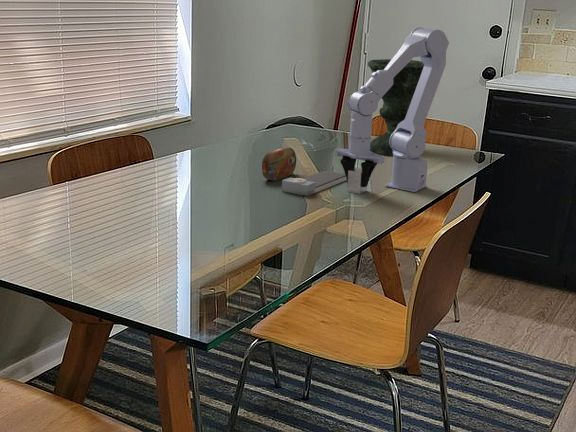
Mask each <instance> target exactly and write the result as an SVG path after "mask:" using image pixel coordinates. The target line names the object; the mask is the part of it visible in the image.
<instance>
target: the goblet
mask: <svg viewBox="0 0 576 432" xmlns="http://www.w3.org/2000/svg"><path fill="white" fill-rule="evenodd" d="M391 60H392V58H391V59H389V58H388V59H387V58H386V59H384V58H383V59H371V60H369V61H368V62H367V66H368V67H369V68H370V71H371V72H372V73H373V72H376V71H377V70H384V69H385V67H386V66H387V65H388V64H389V62H390V61H391ZM423 68H424V64H423V62H422V60H413V59H412V60H411V61H410V62H409V63H408V64H407V65H406V66H405V67H404V68H403V69H402V70H401V71H400V72H399V73H398V74H397V75H396V76H395V77H394V78H393V85H392V86H391V88H390V89H389V90H388V91H387V92H386V93H385V94H384V95H383V97H382V98H381V99H382V102H383V104H382V106H381V107H380V109H379V116H380V117H381V118H382V119H383V120H384V122H385V123H386V131H385V132H384V133H383V134H382V135H379V136H377V137H375V138H374V139H372V140H371V143H370V152H372V153H375V154H378V155H382V156H388V157H393V149H392V148H391V147H390V144H389V139H390V136H391V135H392V133H393V132H394V131H395V130H396V128H397V125H398V124H399V123H400V122H402V121H403V120H404V119H405V117H406V115H407V112H408V109H409V106H410V104H411V101H412V98H413V95H414V93H415V90H416V87H417V84H418V82H419V79H420V76H421V73H422V70H423ZM372 73H371V74H372Z"/></svg>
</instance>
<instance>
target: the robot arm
mask: <svg viewBox="0 0 576 432" xmlns="http://www.w3.org/2000/svg"><path fill="white" fill-rule="evenodd" d="M449 45H450V41H449V40H448V38H447V35H446V33H445V32H444V31H442V30H440V29H430V28H424V27H421V26H420V27H415V28H414V29H413V30H412V31H411V32H410V34H408V35H407V36H406V37H405V40H404V43H403V44H402V46H401V47H400V48H399V50H398V51H397V52H396V53H395V54H394V56H393V57H392V58H391V59H392V60H391V61H390V62H389V64H388V65H387V66H386V67H385V69H384V70H377V71H376V72H373V73H371V74H370V76H371V77H370V78H369V80H367V81H366V83H364V85H363V86H360V88H359V90H358V91H355V92H353V93H352V94H351V95H350V97H349V100H348V101H347V102H346V103H347V107H348V110H349V111H350V128H349V141H348V142H349V143H348V145H349V146H348V148H342V147H341V148H340V147H338V148H335V149H334V157H341V159H340V160H339V161H340V164H341V166H342V168H343V171H344V174H346V179H347V180H346V184H348V170H350V169H353V168H356V164H357V163H356V162H357V160H358V161H359V160H360V161H362V162H361V163H360V167H361V168H360V169H362V187H366V186H367V187H368V185H369V181H370V178H371V176H372V174H373V171H374V170H375V168H376V166H377V165H383V164H384V163H385V156H386V155H382V154H378V153H375V152H372V151H371V150H370V143H371V141H372V140H371V139H372V128H373V127H372V125H373V124H372V123H373V114H374V113H375V112H376V111H377V109H378V106H379V102H380V100H381V99H382V97H383V95H384V94H385V93H386V92H387V91H388V90H389V89H390V88H391V86H392V85H393V78H394V77H395V76H396V75H397V74H398V73H399V72H400V71H401V70H402V69H403V68H404V67H405V66H406V65H407V64H408V63H409V62H410V61H411V60H413V59H414V58H418V57H420V61H422V62H423V64H424V68H423V70H422V73H421V76H420V79H419V82H418V84H417V87H416V90H415V93H414V95H413V98H412V101H411V104H410V106H409V109H408V112H407V115H406V117H405V119H404V120H403V121H402V122H400V123H399V124H398V125H397V128H396V130H395V131H394V132H393V133H392V135H391V136H390V139H389V144H390V147H391V148H392V149H393V156H392V165H391V166H392V167H391V178H390V179H391V180H390V182H388V183H385V185H384V186H385V187H388V188H393V189H398V190H403V191H408V192H414V193H416V192H419V191H420V190H423V189H425V188H426V187H427V186H428V185H427V175H428V174H427V173H428V162H427V160H426V159H424V158H421V155H423V153H424V151H425V149H426V138H427V136H428V134H427V130H426V129H425V127H424V126H425V122H426V120H427V117H428V115H429V111H430V109H431V107H432V104H433V101H434V99H435V98H434V97H435V95H436V93H437V89H438V87H439V84H440V82H441V79H442V76H443V73H444V71H445V68H446V65H447V49H448V48H449Z"/></svg>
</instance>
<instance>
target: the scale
mask: <svg viewBox="0 0 576 432" xmlns="http://www.w3.org/2000/svg"><path fill="white" fill-rule="evenodd" d="M281 181H282V182H281V191H282V192H285V193H290V194H293V195H294V194H295V195H299V196H303V195H306V196H305V197H308V196H311V195H314V194H315V193H318V192H320V191H323V190H326V189H328V188H331V187H333V186H336V185H338V184H340V183H342V182H345V181H346V182H347V179H346V174H345V173H341V172H336V171H330V170H323V171H320V172H318V173H315V174H311V175H309V176H306V177H304V178H301V177H296V178H295V177H286V178H284V179H282V180H281ZM307 195H308V196H307Z"/></svg>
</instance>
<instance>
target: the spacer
mask: <svg viewBox="0 0 576 432" xmlns="http://www.w3.org/2000/svg"><path fill="white" fill-rule="evenodd" d="M346 184H347V183H346ZM367 191H368V185H367V186H366V187H362V168H360V167H355V168H353V169H350V170H348V184H347V189H346V192H347V193H353V194H358V195H359V194H363V193H365V192H367Z"/></svg>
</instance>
